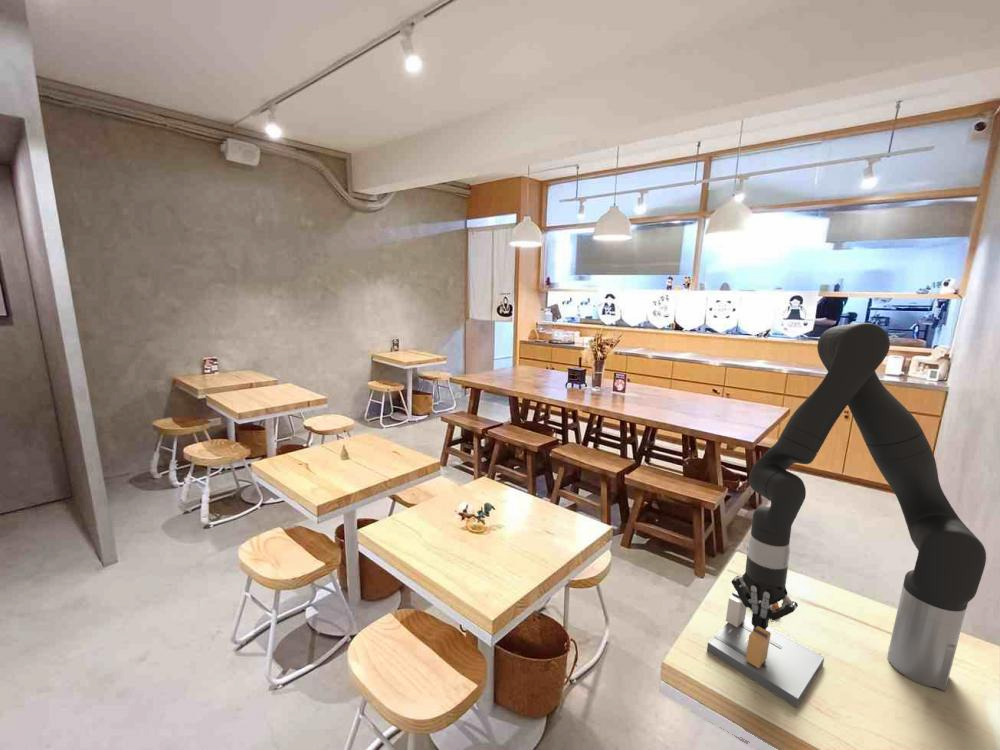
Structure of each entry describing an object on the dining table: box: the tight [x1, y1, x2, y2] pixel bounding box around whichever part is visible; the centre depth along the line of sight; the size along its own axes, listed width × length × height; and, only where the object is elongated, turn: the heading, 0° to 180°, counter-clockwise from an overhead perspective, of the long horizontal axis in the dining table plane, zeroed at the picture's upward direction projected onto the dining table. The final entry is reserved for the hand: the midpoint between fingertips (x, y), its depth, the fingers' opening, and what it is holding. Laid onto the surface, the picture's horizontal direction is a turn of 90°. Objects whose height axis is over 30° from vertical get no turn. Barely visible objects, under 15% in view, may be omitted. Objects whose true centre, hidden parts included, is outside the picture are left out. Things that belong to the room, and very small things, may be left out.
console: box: [706, 614, 825, 709], centre depth 95 cm, size 17×16×2 cm
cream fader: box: [725, 590, 748, 627], centre depth 101 cm, size 3×4×6 cm, turn 130°
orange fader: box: [746, 626, 771, 668], centre depth 91 cm, size 3×4×6 cm, turn 130°
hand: (759, 628), depth 98 cm, fingers closed
